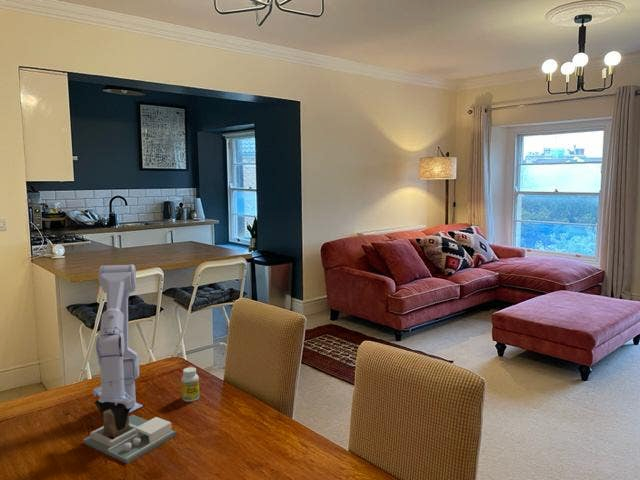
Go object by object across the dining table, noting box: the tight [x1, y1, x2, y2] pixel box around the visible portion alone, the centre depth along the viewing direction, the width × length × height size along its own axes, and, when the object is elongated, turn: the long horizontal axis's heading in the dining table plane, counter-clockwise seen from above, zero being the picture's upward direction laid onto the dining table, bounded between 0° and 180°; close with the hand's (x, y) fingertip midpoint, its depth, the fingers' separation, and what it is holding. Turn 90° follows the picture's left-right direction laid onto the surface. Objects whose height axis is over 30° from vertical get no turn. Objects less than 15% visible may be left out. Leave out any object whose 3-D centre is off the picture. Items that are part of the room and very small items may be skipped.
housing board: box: [82, 414, 177, 465], centre depth 136 cm, size 18×16×2 cm
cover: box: [135, 416, 173, 443], centre depth 136 cm, size 6×7×3 cm
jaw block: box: [103, 409, 130, 439], centre depth 136 cm, size 4×4×6 cm
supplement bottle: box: [180, 367, 200, 403], centre depth 160 cm, size 5×5×10 cm
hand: (115, 426), depth 136 cm, fingers closed on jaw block, 4 cm apart
